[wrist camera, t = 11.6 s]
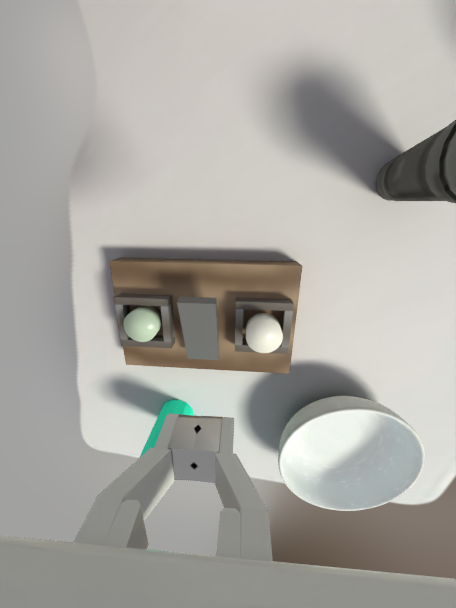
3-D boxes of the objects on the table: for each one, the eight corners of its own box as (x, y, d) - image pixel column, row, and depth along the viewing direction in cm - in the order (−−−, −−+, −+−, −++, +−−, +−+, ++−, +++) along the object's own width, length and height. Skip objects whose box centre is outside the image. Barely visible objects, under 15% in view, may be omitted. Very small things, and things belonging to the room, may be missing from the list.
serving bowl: (424, 412, 38) (460, 451, 31) (344, 483, 45) (360, 527, 38) (318, 357, 36) (334, 386, 30) (252, 440, 43) (253, 478, 36)
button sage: (130, 304, 31) (121, 310, 29) (161, 305, 31) (154, 312, 29) (134, 333, 33) (125, 341, 31) (163, 334, 33) (157, 342, 30)
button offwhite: (246, 312, 29) (246, 319, 27) (281, 313, 29) (284, 321, 27) (245, 342, 31) (245, 352, 28) (278, 344, 30) (281, 354, 28)
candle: (170, 428, 43) (143, 500, 32) (155, 403, 42) (122, 471, 30) (198, 421, 42) (181, 493, 31) (185, 395, 40) (161, 462, 29)
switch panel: (121, 257, 33) (101, 263, 28) (297, 261, 31) (305, 268, 27) (134, 354, 38) (120, 371, 34) (285, 361, 37) (291, 381, 32)
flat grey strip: (179, 296, 27) (177, 302, 26) (216, 297, 27) (215, 304, 26) (189, 351, 33) (187, 358, 32) (219, 353, 33) (218, 360, 32)
